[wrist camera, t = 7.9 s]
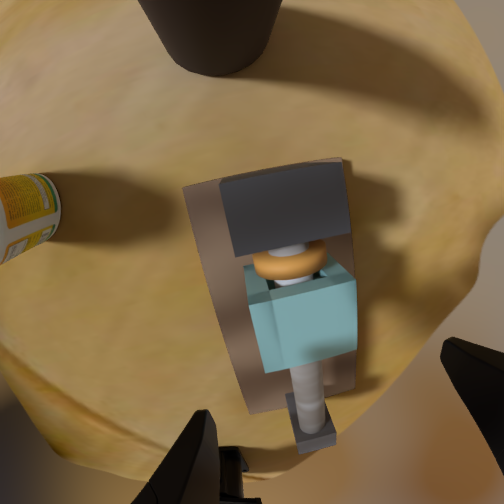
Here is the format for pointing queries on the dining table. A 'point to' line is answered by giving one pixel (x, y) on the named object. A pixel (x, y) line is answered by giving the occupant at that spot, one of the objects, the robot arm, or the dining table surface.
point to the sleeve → (303, 316)
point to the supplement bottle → (26, 213)
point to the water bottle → (213, 31)
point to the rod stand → (275, 276)
